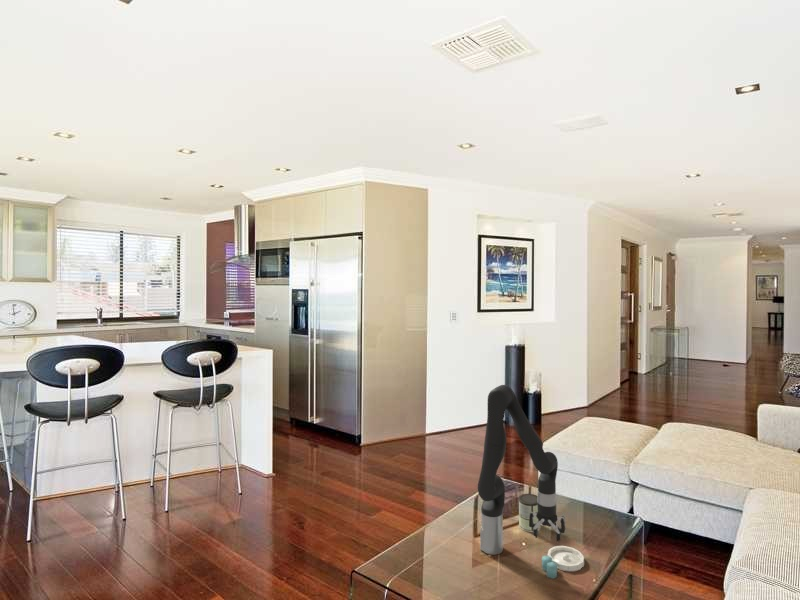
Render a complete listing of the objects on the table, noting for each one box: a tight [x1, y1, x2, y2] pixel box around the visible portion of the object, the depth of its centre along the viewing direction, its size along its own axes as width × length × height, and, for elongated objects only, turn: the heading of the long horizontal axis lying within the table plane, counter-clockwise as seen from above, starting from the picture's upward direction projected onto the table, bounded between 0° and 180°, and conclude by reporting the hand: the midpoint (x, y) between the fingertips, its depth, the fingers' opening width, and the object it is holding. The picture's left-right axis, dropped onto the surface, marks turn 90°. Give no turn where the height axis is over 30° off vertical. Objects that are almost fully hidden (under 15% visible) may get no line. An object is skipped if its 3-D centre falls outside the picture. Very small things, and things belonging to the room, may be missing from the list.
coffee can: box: [518, 493, 542, 533], centre depth 249 cm, size 10×10×14 cm
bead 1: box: [541, 555, 552, 572], centre depth 217 cm, size 4×4×4 cm
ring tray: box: [546, 545, 585, 572], centre depth 222 cm, size 15×15×2 cm
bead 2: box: [546, 562, 558, 580], centre depth 212 cm, size 4×4×4 cm
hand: (547, 538), depth 215 cm, fingers open, 8 cm apart
